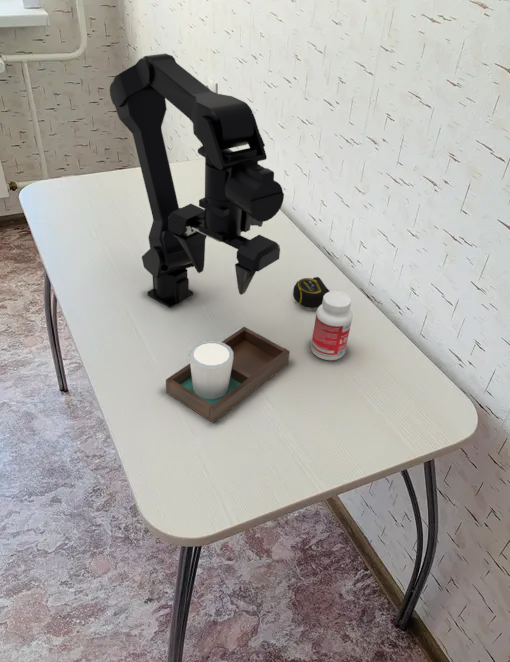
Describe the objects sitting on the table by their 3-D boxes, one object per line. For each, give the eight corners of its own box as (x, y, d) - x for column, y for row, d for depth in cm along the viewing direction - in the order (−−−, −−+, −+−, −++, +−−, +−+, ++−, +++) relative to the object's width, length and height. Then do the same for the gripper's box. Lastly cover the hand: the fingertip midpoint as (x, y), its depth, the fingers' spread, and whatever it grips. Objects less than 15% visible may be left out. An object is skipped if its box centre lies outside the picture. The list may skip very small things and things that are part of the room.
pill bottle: (341, 365, 107) (352, 312, 100) (306, 356, 108) (315, 304, 101) (347, 344, 112) (358, 293, 104) (314, 336, 113) (323, 285, 105)
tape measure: (332, 309, 120) (335, 293, 117) (299, 314, 118) (302, 297, 115) (319, 290, 124) (321, 274, 122) (287, 294, 122) (289, 278, 120)
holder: (165, 392, 99) (165, 379, 97) (243, 338, 111) (244, 326, 109) (213, 423, 95) (213, 410, 93) (288, 363, 106) (289, 351, 105)
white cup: (216, 408, 96) (217, 374, 91) (180, 390, 98) (179, 356, 94) (240, 384, 101) (242, 350, 96) (205, 367, 103) (206, 334, 98)
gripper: (306, 196, 93) (295, 285, 103) (213, 159, 101) (211, 244, 111) (260, 221, 86) (253, 313, 96) (164, 179, 94) (167, 268, 104)
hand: (220, 282), depth 102 cm, fingers open, 9 cm apart
